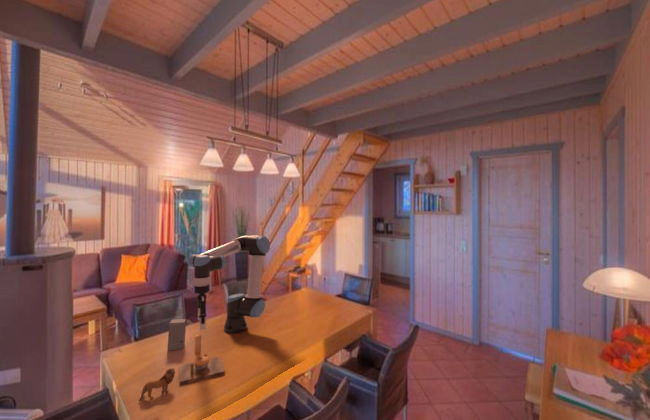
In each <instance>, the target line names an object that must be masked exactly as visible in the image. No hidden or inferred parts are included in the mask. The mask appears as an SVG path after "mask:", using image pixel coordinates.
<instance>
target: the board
mask: <svg viewBox="0 0 650 420" xmlns="http://www.w3.org/2000/svg"><path fill="white" fill-rule="evenodd" d="M204 356H205V357H208V354H207V353H204V355H203V357H204ZM221 357H222V356H217V357H211V358H209V363H208V364H206V365H203V366H195V365H194V361H193V362H188V363H182V364H179V365H178V367H179V368H178V370H179V371H178V372H179V374H178V375H179V386H181V385H186V384H190V383H194V382H198V381H202V380H207V379H211V378H215V377H219V376H223V375H225V373H226V372H225V369H224V368H225V367H224V365H223V361H222V358H221Z"/></svg>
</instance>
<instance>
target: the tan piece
mask: <svg viewBox="0 0 650 420" xmlns="http://www.w3.org/2000/svg"><path fill="white" fill-rule="evenodd" d="M201 353H202V334H196V335H195V336H194V355H195V358H196V359H194V361H193V362H194V365H195V366H203V365H206V364H208V363H209V359H210V357H208V356H207V357H205V356H204V355H203V356H202V355H201Z"/></svg>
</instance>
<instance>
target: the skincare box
mask: <svg viewBox="0 0 650 420" xmlns="http://www.w3.org/2000/svg"><path fill="white" fill-rule="evenodd" d="M186 329H187V318H177V319H176V318H175V319H171V320H170V322H169V324H168V335H167V337H168V338H167V351H168V352H169V351H176V350H177V351H178V350H183V349H184V346H185V342H186V331H187V330H186Z"/></svg>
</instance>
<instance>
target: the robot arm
mask: <svg viewBox="0 0 650 420" xmlns="http://www.w3.org/2000/svg"><path fill="white" fill-rule="evenodd" d="M270 248H271V243H270V240H269V238H267V237H266V236H264V235H252V234H247V235H246V234H245V235H242V236H241V235H240V236H239V237H236V238H233V239H231V240H230V241H229V242H227V243H225V244H221V245H220V246H217V247H215V248H213V249H209V250H207V251H204V252H202V253H200V254H197V253H196V254H195V253H193V254H191V255H190V256H189V257H188V260H187V264H188V266H189V267H191V268H193V270H194V271H193V272H194V276H193V280H194V281H193V285H194V287H193V291H194V292H193V293H194V294H197V321H199V331H203V330H206V328H207V327H206V324H207V323H206V322H207V321H206V320H207V308H206V307H207V306H206V304H207V294H206V293H210V289H211V288H210V287H211V286H210V280H212V278H211V277H210V275H211V273H210V272H214V271H219V270H222V269H224V268H226V267H227V265H228V264H227V263H228V261H227V258H226V257H227V256H230V255H233V254H238V253H241V252H242V253H243V252H244V253H245V252H246V253H248V255H247V256H249V267H248V268H249V270H248V280H247V289H246V294H245V293H235V294H231V295H229V296H228V297H227V301H226V320H225V323H224V326H223V330H224V332H225V333H230V334H237V333H240V332H244V331H245V330H247V328H248V323H247V321H246V317H250V318H255V319H256V318H259V317H261V315H262V314H263V312H264V311H265V309H266V302H265V301H264V299H263V295H262V294H261V287H262V286H261V285H262V276H263V265H264V264H263V263H264V258H265V257H266V254H267V253H269V252H270Z"/></svg>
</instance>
